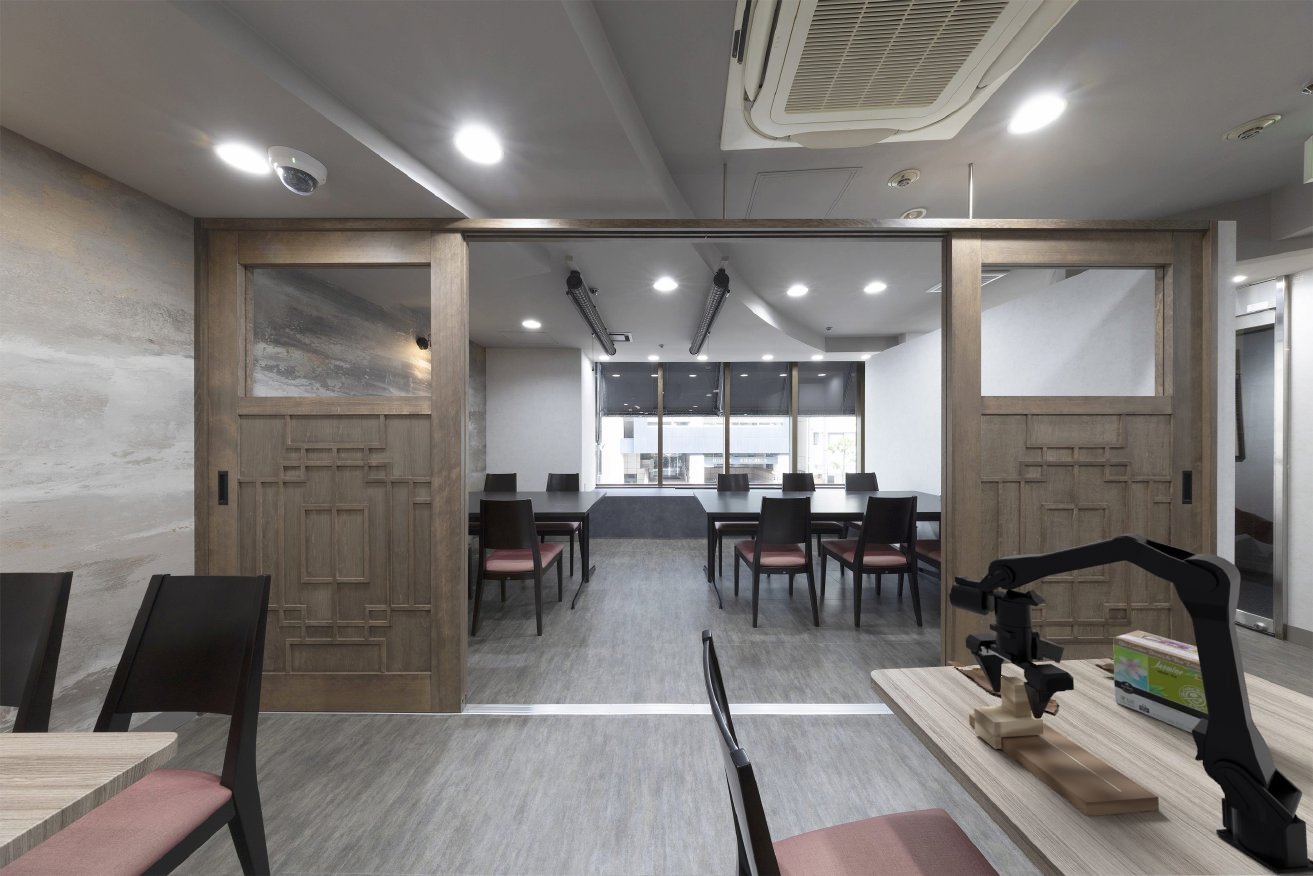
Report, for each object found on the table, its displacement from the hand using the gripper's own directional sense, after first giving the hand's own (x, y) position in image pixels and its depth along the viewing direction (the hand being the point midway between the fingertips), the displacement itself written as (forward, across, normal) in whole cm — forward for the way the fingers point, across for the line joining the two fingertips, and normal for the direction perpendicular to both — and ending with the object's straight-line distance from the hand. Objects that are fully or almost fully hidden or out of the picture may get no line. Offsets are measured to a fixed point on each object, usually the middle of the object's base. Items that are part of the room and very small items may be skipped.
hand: (1016, 704), depth 89 cm
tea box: (+7, +4, -38) cm, 39 cm away
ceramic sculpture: (+7, +18, -48) cm, 52 cm away
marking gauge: (+6, 0, +2) cm, 7 cm away
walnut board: (+7, -6, -1) cm, 9 cm away
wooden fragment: (+7, +20, -13) cm, 25 cm away
